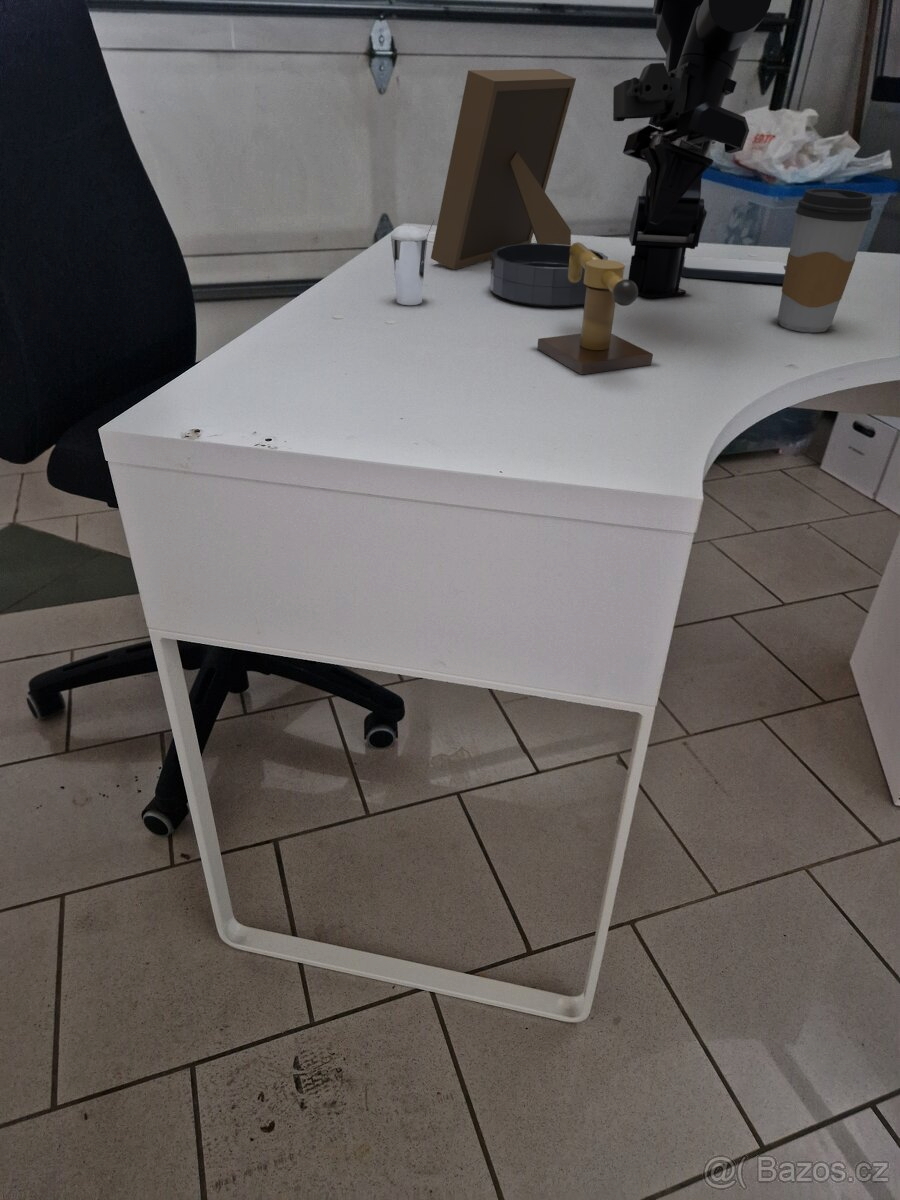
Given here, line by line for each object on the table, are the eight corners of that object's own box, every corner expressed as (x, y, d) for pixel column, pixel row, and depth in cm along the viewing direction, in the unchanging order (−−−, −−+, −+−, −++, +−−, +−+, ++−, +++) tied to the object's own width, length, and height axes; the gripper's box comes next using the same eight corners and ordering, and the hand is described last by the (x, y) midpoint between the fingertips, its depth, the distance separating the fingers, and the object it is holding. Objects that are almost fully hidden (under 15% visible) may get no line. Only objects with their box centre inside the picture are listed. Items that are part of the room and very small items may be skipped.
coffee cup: (837, 321, 106) (874, 191, 97) (840, 339, 99) (880, 201, 91) (769, 313, 108) (800, 185, 99) (767, 330, 101) (800, 195, 93)
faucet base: (604, 340, 96) (613, 273, 92) (651, 364, 89) (663, 293, 85) (537, 349, 93) (543, 280, 88) (581, 374, 86) (589, 301, 82)
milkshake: (428, 308, 105) (429, 223, 99) (387, 305, 106) (386, 220, 100) (436, 299, 109) (437, 216, 103) (396, 296, 109) (396, 214, 104)
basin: (563, 276, 121) (567, 240, 118) (624, 303, 110) (630, 263, 107) (471, 285, 115) (472, 247, 113) (525, 313, 104) (528, 272, 101)
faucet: (643, 332, 81) (651, 282, 78) (603, 333, 81) (610, 282, 78) (588, 280, 98) (593, 238, 95) (555, 280, 97) (559, 238, 95)
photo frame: (430, 265, 125) (433, 68, 110) (508, 243, 139) (519, 67, 125) (513, 282, 118) (528, 74, 104) (586, 257, 132) (607, 72, 118)
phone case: (678, 279, 123) (791, 286, 120) (680, 267, 122) (794, 275, 119) (680, 266, 130) (787, 273, 127) (682, 255, 129) (789, 262, 126)
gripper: (606, 59, 93) (562, 205, 98) (676, 11, 76) (618, 192, 81) (692, 94, 96) (645, 235, 101) (778, 56, 79) (717, 228, 84)
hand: (653, 223), depth 91 cm, fingers closed
